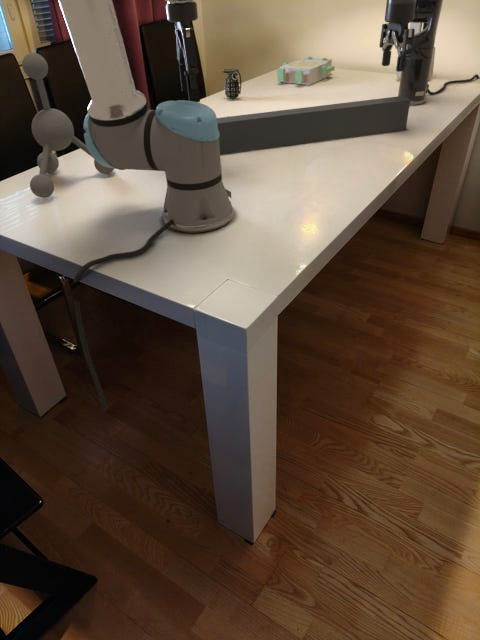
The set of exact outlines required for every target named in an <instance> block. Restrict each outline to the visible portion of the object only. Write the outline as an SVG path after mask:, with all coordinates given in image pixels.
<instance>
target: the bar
mask: <svg viewBox="0 0 480 640" xmlns="http://www.w3.org/2000/svg"><path fill="white" fill-rule="evenodd" d="M410 106H411V105H410V99H408V98H405V97H403V96H398V95H397V96H391V97H383V98H382V97H381V98H374V99H365V100H358V101H357V100H356V101H348V102H347V101H346V102H340V103H332V104H331V103H330V104H323V105H315V106H307V107H299V108H291V109H281V110H273V111H264V112H256V113H248V114H241V115H230V116H224V117H217V124H218V130H219V135H220V137H219V144H220V156H221V155H227V154H234V153H235V154H236V153H243V152H249V151H258V150H266V149H274V148H282V147H289V146H295V145H302V144H303V145H305V144H310V143H318V142H326V141H334V140H341V139H342V140H343V139H348V138H357V137H363V136H364V137H365V136H372V135H380V134H388V133H394V132H401V131H406V130H407V126H408V125H407V124H408V118H409V112H410Z"/></svg>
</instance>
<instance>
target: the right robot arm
mask: <svg viewBox="0 0 480 640" xmlns="http://www.w3.org/2000/svg"><path fill="white" fill-rule="evenodd" d="M443 2H444V0H386V3H385V4H386V5H385V6H386V7H385V13H384V21H385V23H383V24H382V25H381V31H380V39H379V45H378V46H379V48H381V51H382V58H381V66H383V67H388V66H390V65H391V58H392V49H393V48H395V49H396V51H397V59H396V60H397V61H396V67H395V71H396V72H397V71H398V72H400V71H401V79H400V80H399V85H398V94H397V96H403V97H405V98H408V99H410V106H414V105H421V104H424V103H425V102H426V95H427V94H428V95H430V96H434V95H438V94H440V93H441V92H442V91H444V90H446V89H447V88H446V87H447V85H451V84H463V83H470V82H473V81H474V80H475V79H477V80H478V79H480V76H479V74H474V75H473V76H472V77H471V78H467V79H459V80H458V79H457V80H449V81H446V82H444V83H443V86H442V87H441V88H439V89H438V90H436V91H431V90H430V89H429V88H430V83H429V80H428V79H429V73H430V67H431V61H432V55H433V50H434V47H435V43H436V38H437V37H436V36H437V31H438V25H439V20H440V16H441V11H442V7H443ZM410 23H422V24H423V23H428V26H427V27H426V28H425V29H424V30H423V29H421V32H419V33H416V34H414V33H415V29H410V28H409V24H410Z"/></svg>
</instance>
